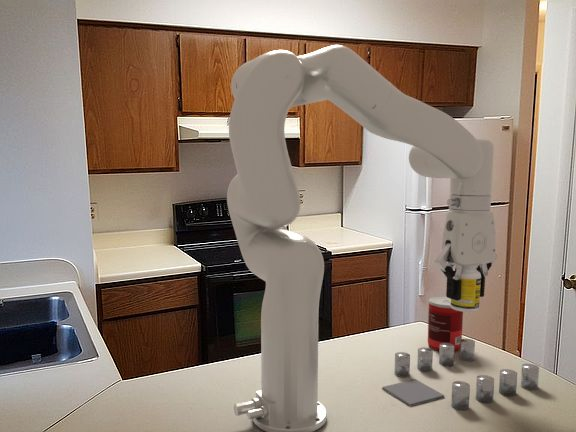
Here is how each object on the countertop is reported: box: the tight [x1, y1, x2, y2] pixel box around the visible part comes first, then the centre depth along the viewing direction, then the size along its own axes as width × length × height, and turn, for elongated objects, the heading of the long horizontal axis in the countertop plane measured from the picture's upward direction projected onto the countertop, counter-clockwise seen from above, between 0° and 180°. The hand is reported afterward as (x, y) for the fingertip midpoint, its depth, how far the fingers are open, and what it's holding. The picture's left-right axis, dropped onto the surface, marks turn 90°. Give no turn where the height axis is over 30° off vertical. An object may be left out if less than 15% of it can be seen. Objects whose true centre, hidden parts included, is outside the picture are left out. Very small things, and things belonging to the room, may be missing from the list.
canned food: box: [427, 295, 464, 353], centre depth 125 cm, size 8×8×11 cm
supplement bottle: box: [450, 262, 481, 313], centre depth 104 cm, size 5×5×10 cm
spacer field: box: [394, 338, 540, 411], centre depth 106 cm, size 21×19×4 cm
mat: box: [381, 378, 445, 407], centre depth 101 cm, size 8×8×1 cm
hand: (465, 296), depth 104 cm, fingers closed on supplement bottle, 5 cm apart
